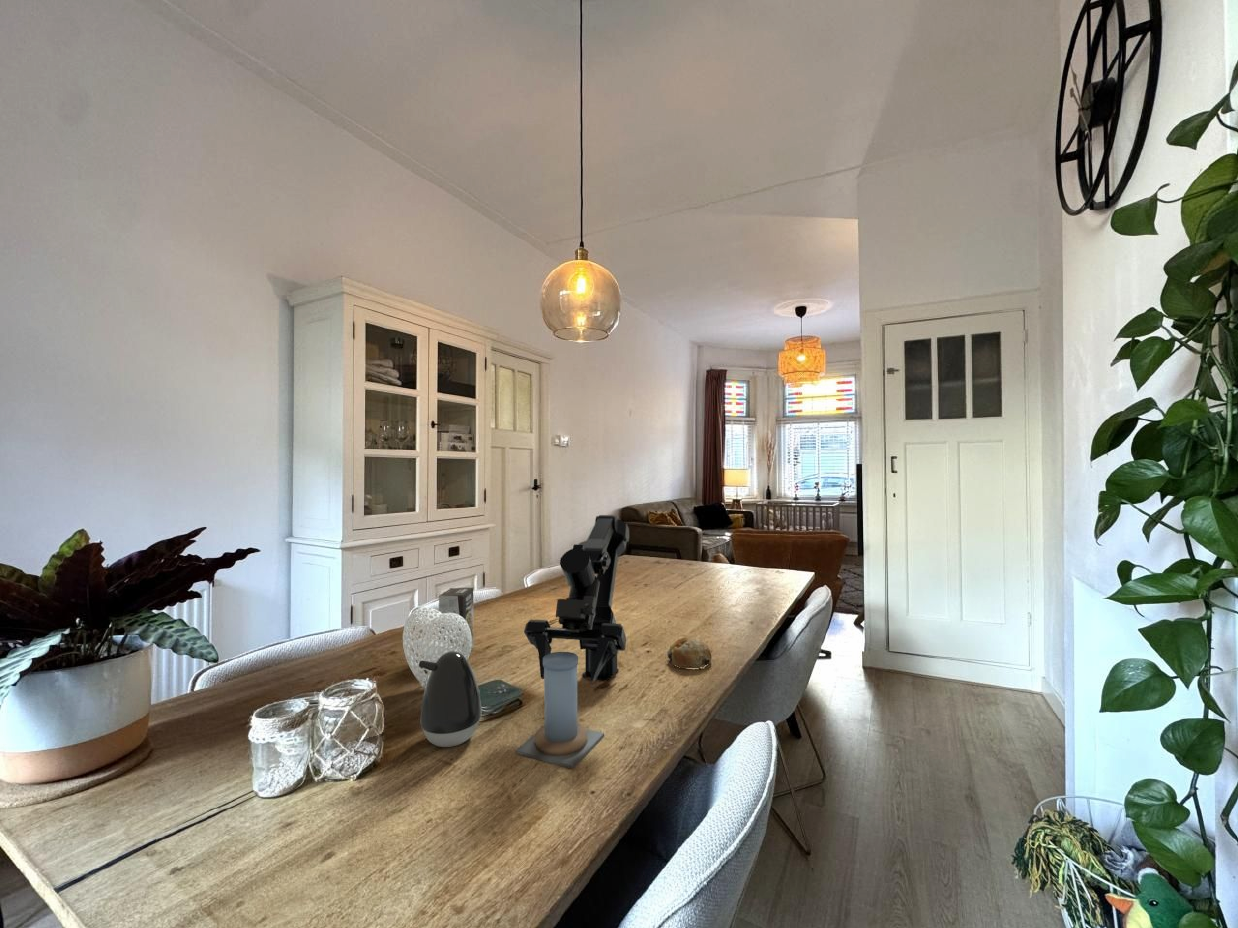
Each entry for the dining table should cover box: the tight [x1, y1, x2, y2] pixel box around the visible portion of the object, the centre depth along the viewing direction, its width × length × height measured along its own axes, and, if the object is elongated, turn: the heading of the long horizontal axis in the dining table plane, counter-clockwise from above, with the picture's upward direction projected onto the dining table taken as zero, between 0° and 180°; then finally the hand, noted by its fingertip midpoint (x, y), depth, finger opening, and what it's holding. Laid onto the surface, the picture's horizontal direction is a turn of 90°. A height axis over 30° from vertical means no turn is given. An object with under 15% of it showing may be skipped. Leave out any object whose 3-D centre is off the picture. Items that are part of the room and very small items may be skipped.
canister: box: [543, 651, 579, 743], centre depth 88 cm, size 6×6×13 cm
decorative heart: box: [402, 606, 472, 689], centre depth 109 cm, size 18×11×17 cm, turn 56°
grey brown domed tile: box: [515, 723, 605, 770], centre depth 87 cm, size 11×11×2 cm
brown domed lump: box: [666, 636, 713, 669], centre depth 124 cm, size 10×10×8 cm
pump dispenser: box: [419, 651, 483, 748], centre depth 89 cm, size 10×10×15 cm
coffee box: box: [438, 587, 475, 651], centre depth 132 cm, size 9×6×16 cm
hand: (566, 680), depth 91 cm, fingers open, 9 cm apart
